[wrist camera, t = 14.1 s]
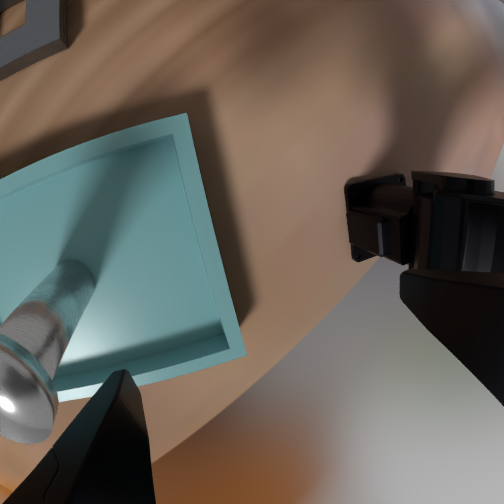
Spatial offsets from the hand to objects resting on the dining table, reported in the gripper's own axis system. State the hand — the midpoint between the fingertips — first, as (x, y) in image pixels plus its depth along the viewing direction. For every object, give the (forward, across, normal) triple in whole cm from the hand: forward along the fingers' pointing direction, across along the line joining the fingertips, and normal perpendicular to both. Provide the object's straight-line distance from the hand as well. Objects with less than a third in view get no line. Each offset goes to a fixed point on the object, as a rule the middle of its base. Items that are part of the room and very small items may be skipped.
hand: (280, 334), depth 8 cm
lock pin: (+12, +10, 0) cm, 16 cm away
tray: (+13, +10, 0) cm, 16 cm away
